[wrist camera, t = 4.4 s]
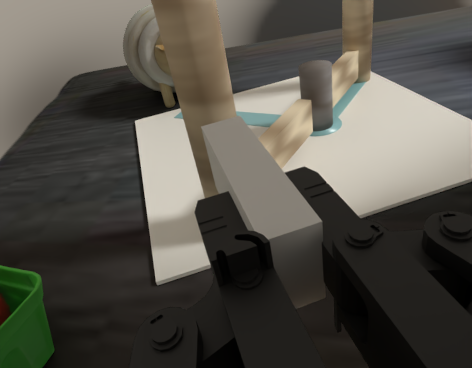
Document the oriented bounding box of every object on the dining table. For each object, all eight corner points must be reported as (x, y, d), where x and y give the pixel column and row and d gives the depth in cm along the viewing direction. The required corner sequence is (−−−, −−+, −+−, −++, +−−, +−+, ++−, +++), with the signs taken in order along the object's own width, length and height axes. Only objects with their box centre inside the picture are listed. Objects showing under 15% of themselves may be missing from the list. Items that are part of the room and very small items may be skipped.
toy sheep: (160, 126, 42) (128, 22, 36) (124, 89, 55) (96, 8, 49) (241, 96, 46) (224, -4, 39) (189, 67, 59) (171, -11, 52)
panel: (289, 128, 35) (261, -164, 23) (324, 133, 33) (313, -182, 21) (198, 225, 25) (77, -178, 14) (240, 239, 24) (142, -210, 12)
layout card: (351, 64, 48) (351, 61, 48) (541, 158, 27) (543, 153, 26) (135, 123, 44) (134, 120, 44) (157, 285, 23) (155, 281, 23)
